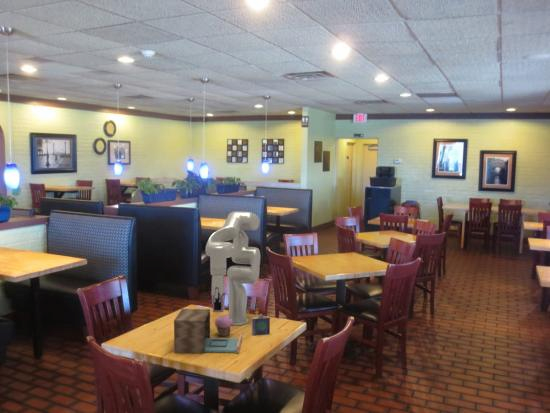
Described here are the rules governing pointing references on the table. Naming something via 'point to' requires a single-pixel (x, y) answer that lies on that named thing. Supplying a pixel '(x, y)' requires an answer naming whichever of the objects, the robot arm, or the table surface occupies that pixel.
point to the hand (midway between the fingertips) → (218, 307)
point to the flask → (260, 325)
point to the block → (221, 304)
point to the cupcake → (223, 325)
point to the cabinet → (191, 330)
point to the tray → (223, 344)
